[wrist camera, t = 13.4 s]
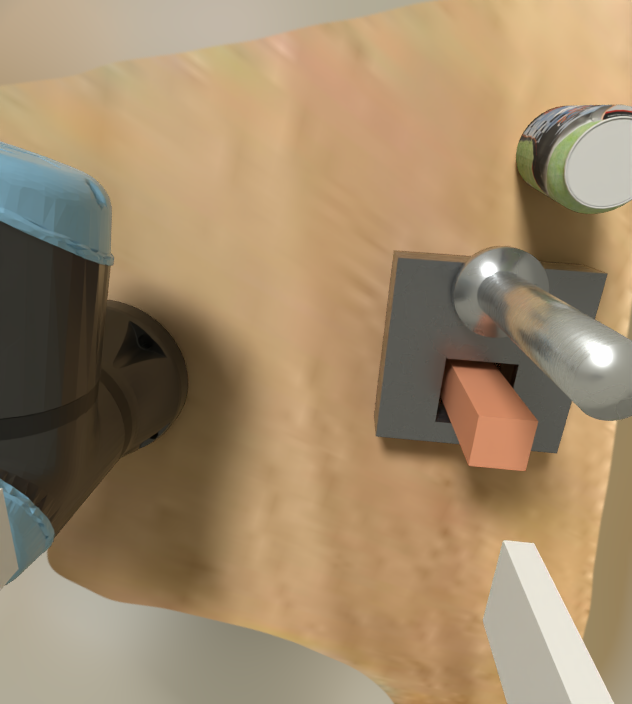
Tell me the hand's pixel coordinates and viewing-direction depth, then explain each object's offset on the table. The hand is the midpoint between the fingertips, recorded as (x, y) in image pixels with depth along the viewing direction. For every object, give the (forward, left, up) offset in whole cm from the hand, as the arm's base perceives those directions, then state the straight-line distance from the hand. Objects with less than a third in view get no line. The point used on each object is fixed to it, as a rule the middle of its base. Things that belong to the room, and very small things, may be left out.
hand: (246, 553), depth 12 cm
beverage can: (+17, +12, -32) cm, 38 cm away
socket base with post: (+14, -4, -32) cm, 35 cm away
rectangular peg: (+14, -7, -32) cm, 35 cm away
